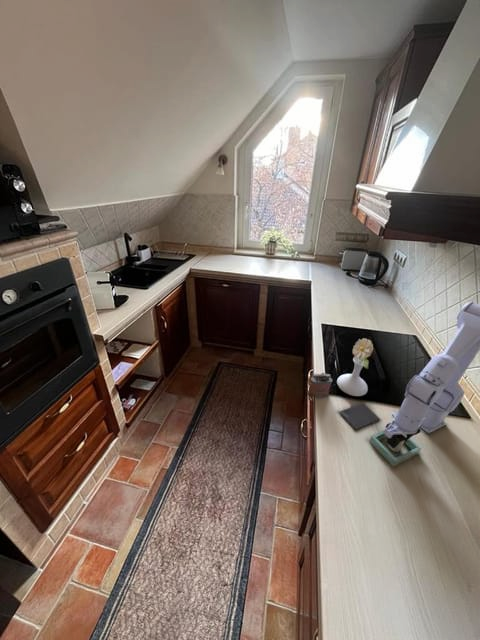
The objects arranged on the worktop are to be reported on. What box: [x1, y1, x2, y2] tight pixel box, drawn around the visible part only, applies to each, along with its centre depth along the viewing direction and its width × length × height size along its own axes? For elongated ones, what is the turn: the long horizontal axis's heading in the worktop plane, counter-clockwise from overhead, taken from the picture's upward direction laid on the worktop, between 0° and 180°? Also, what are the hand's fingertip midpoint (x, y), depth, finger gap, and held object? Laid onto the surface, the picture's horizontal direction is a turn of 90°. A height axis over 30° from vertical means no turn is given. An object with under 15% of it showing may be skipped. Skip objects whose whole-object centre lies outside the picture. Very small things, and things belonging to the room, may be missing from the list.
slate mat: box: [339, 402, 381, 431], centre depth 89 cm, size 11×8×1 cm
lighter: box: [307, 372, 333, 398], centre depth 95 cm, size 8×3×10 cm, turn 92°
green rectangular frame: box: [369, 430, 422, 467], centre depth 79 cm, size 11×9×2 cm
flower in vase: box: [336, 337, 374, 397], centre depth 94 cm, size 13×11×25 cm
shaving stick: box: [387, 434, 407, 453], centre depth 77 cm, size 3×3×6 cm
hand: (395, 442), depth 78 cm, fingers closed on shaving stick, 3 cm apart
